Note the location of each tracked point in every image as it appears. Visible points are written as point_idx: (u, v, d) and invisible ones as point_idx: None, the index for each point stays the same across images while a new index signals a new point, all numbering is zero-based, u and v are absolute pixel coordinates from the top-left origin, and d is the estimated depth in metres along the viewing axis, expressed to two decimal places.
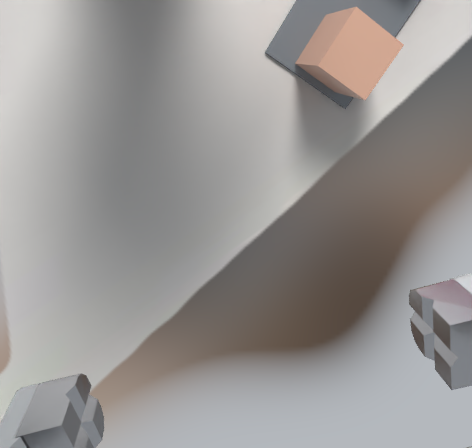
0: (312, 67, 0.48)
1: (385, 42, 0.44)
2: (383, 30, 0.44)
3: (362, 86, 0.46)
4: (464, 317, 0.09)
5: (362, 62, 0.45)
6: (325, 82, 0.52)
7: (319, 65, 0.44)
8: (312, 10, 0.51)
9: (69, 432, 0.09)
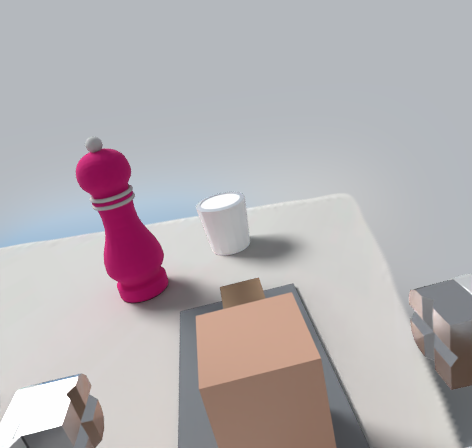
0: (223, 433, 0.23)
1: (267, 306, 0.27)
2: (251, 303, 0.28)
3: (294, 351, 0.23)
4: (464, 317, 0.09)
5: (261, 337, 0.25)
6: None
7: (201, 387, 0.22)
8: (207, 433, 0.32)
9: (69, 432, 0.09)
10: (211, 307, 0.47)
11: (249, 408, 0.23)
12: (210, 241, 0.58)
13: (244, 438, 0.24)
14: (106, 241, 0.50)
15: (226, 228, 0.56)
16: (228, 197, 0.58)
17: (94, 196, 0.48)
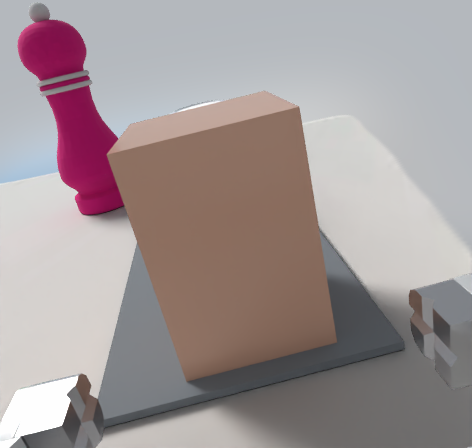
0: (152, 243, 0.15)
1: (229, 102, 0.19)
2: (208, 105, 0.20)
3: (260, 111, 0.15)
4: (464, 317, 0.09)
5: (214, 115, 0.17)
6: (267, 312, 0.17)
7: (111, 153, 0.14)
8: (156, 310, 0.23)
9: (69, 432, 0.09)
10: None
11: (190, 198, 0.15)
12: None
13: (186, 254, 0.16)
14: (58, 137, 0.42)
15: None
16: (208, 104, 0.51)
17: (41, 77, 0.40)
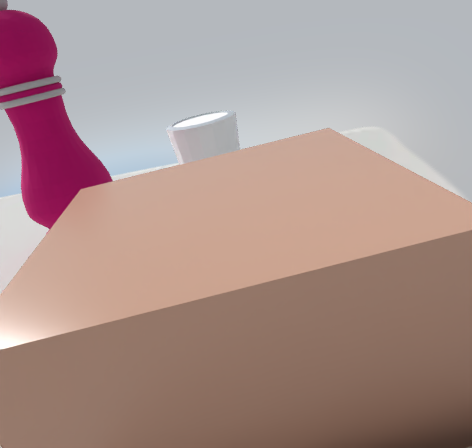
0: None
1: (266, 152, 0.10)
2: (225, 154, 0.11)
3: (374, 216, 0.06)
4: None
5: (246, 199, 0.07)
6: None
7: None
8: None
9: None
10: None
11: (193, 444, 0.06)
12: None
13: None
14: (22, 162, 0.33)
15: (208, 155, 0.39)
16: (212, 116, 0.41)
17: None
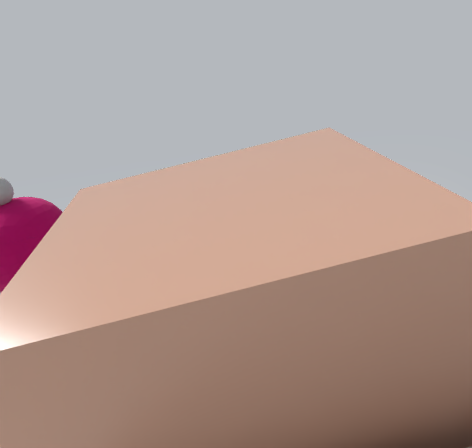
0: None
1: (266, 152, 0.10)
2: (225, 154, 0.11)
3: (375, 216, 0.06)
4: None
5: (246, 199, 0.07)
6: None
7: None
8: None
9: None
10: None
11: (193, 446, 0.06)
12: None
13: None
14: None
15: None
16: None
17: (0, 291, 0.25)
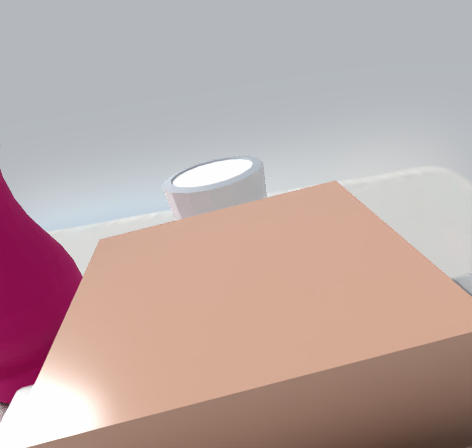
0: None
1: (276, 208, 0.11)
2: (237, 207, 0.11)
3: (383, 305, 0.06)
4: None
5: (261, 270, 0.08)
6: None
7: (17, 444, 0.05)
8: None
9: None
10: None
11: None
12: None
13: None
14: None
15: None
16: (229, 165, 0.29)
17: None
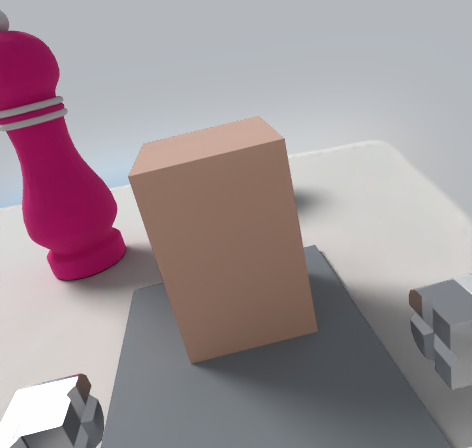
0: (164, 248, 0.19)
1: (227, 126, 0.23)
2: (210, 128, 0.23)
3: (252, 140, 0.18)
4: (464, 317, 0.09)
5: (215, 140, 0.20)
6: (259, 305, 0.20)
7: (131, 175, 0.17)
8: None
9: (69, 432, 0.09)
10: None
11: (195, 211, 0.18)
12: None
13: (191, 257, 0.19)
14: (23, 183, 0.32)
15: None
16: None
17: None
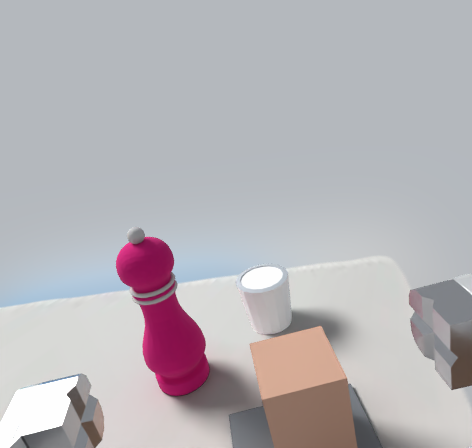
0: (276, 431, 0.33)
1: (303, 337, 0.37)
2: (291, 334, 0.38)
3: (327, 373, 0.33)
4: (464, 317, 0.09)
5: (302, 361, 0.34)
6: None
7: (263, 398, 0.32)
8: None
9: (69, 432, 0.09)
10: (263, 411, 0.43)
11: (296, 413, 0.33)
12: (251, 319, 0.55)
13: (291, 434, 0.33)
14: (146, 333, 0.47)
15: (269, 309, 0.53)
16: (269, 272, 0.55)
17: (135, 289, 0.44)
